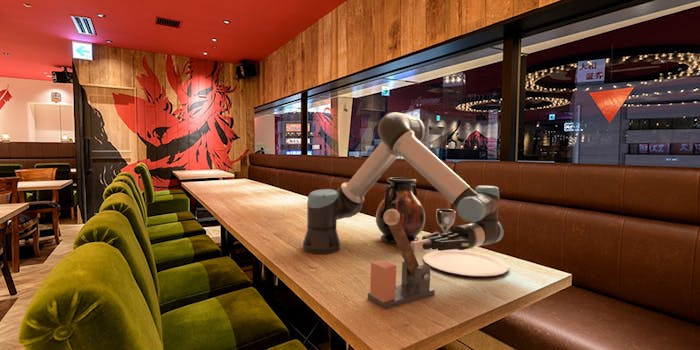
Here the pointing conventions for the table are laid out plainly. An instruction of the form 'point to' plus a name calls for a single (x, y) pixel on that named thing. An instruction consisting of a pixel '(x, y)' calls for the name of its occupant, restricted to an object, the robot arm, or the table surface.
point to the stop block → (383, 280)
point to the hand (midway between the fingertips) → (412, 247)
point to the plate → (466, 263)
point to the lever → (401, 239)
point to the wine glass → (445, 218)
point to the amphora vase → (401, 209)
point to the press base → (409, 287)
